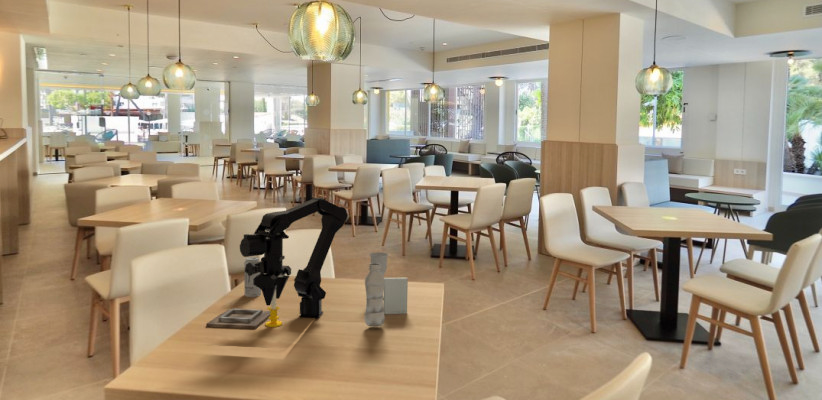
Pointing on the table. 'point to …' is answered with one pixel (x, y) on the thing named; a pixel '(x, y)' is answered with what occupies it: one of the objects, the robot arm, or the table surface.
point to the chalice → (380, 261)
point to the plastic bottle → (374, 296)
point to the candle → (273, 314)
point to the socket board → (240, 319)
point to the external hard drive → (395, 295)
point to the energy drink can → (251, 280)
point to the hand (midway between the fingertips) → (272, 301)
